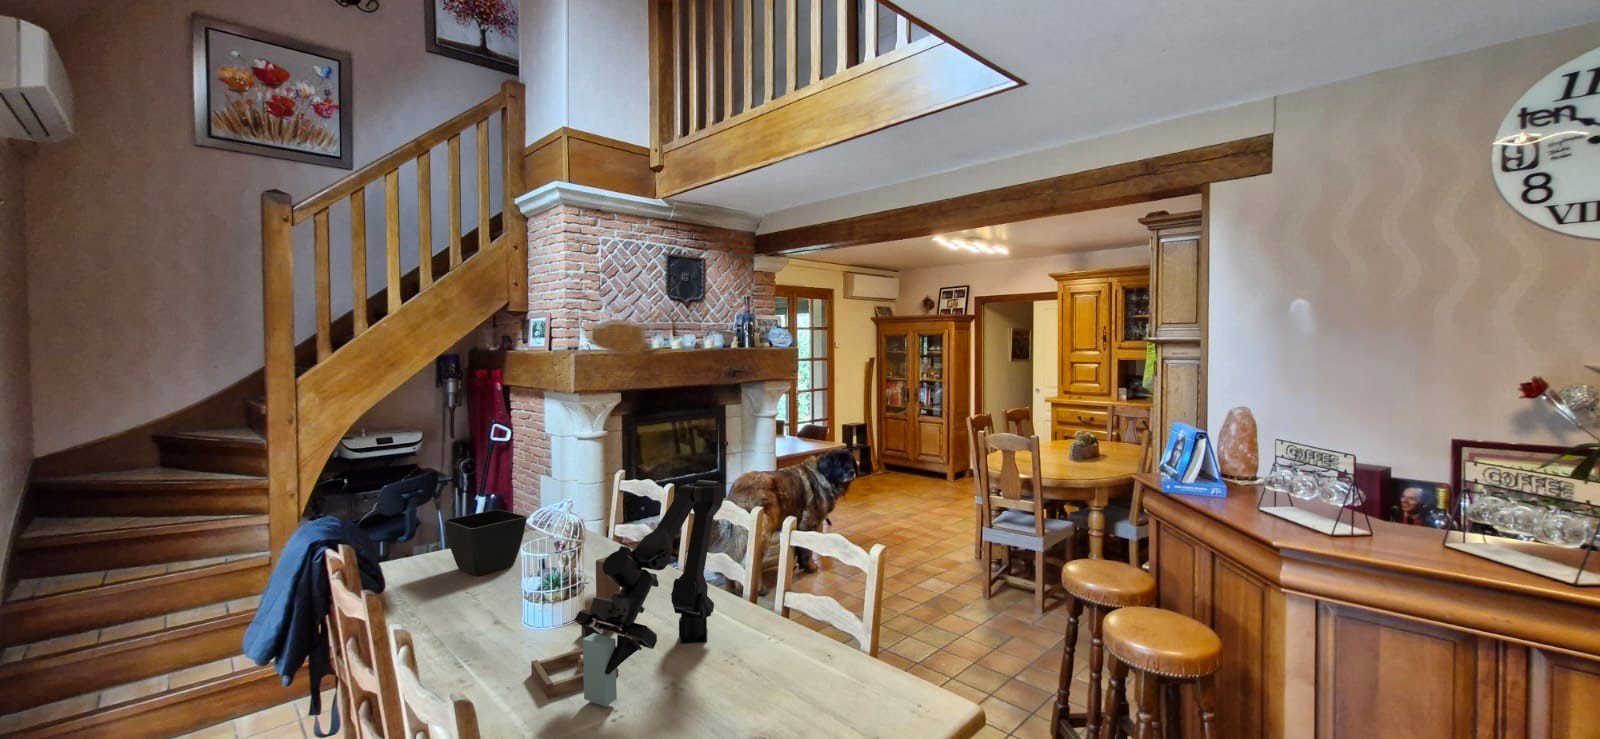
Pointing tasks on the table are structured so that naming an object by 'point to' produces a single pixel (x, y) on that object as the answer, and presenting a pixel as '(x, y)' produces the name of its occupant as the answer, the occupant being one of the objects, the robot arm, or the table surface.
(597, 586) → the wooden block
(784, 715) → the table surface
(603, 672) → the tall grey-green pillar
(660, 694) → the table surface
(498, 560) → the flower pot
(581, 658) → the offcut stack
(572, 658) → the rack
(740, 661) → the table surface
